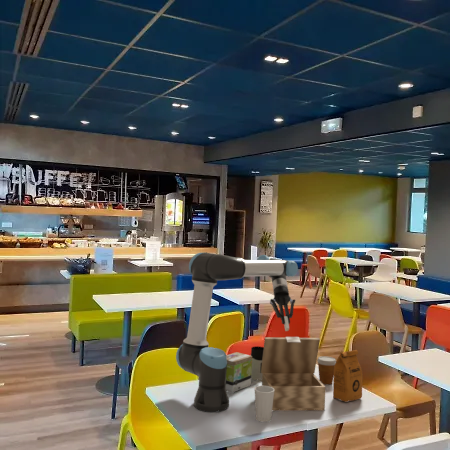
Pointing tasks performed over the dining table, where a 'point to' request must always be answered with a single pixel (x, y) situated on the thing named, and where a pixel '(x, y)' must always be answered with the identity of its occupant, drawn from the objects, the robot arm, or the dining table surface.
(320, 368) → the disposable coffee cup
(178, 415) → the dining table surface
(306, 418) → the dining table surface
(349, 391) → the coffee package
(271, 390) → the cup
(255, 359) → the glass holder
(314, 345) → the box lid
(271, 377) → the wooden box
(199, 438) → the dining table surface
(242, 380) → the tea box
